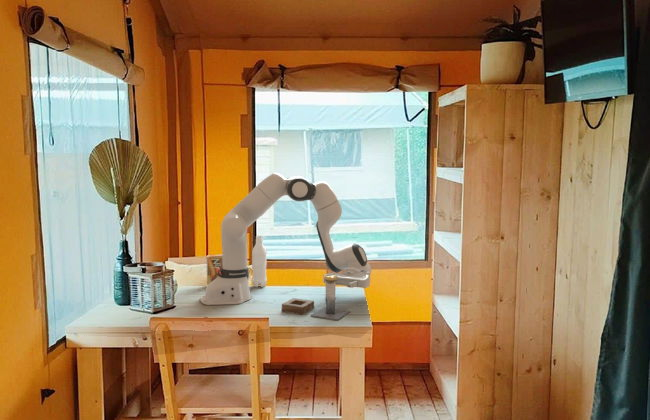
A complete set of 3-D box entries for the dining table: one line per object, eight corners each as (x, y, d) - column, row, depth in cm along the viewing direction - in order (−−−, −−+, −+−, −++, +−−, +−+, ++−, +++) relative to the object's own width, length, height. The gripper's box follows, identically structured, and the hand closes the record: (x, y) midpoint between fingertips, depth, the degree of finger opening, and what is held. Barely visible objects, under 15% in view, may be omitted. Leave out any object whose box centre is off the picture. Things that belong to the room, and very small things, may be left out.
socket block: (303, 314, 213) (303, 307, 213) (281, 311, 217) (281, 304, 217) (314, 307, 222) (314, 301, 222) (293, 304, 226) (293, 298, 226)
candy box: (224, 284, 261) (224, 254, 260) (226, 286, 257) (225, 255, 256) (206, 285, 258) (206, 255, 256) (208, 287, 254) (207, 256, 252)
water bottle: (264, 288, 254) (263, 237, 251) (250, 287, 255) (249, 237, 252) (268, 284, 261) (268, 235, 258) (255, 284, 262) (254, 234, 259)
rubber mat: (337, 320, 206) (337, 319, 205) (310, 316, 211) (310, 315, 211) (349, 312, 216) (349, 311, 216) (323, 308, 221) (323, 307, 221)
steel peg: (326, 315, 210) (326, 278, 208) (321, 311, 215) (321, 275, 213) (339, 314, 212) (339, 277, 210) (334, 310, 217) (334, 274, 215)
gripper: (330, 267, 236) (316, 274, 224) (373, 272, 227) (361, 279, 215) (330, 281, 237) (316, 288, 224) (373, 286, 228) (361, 294, 216)
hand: (339, 284), depth 220 cm, fingers open, 8 cm apart
